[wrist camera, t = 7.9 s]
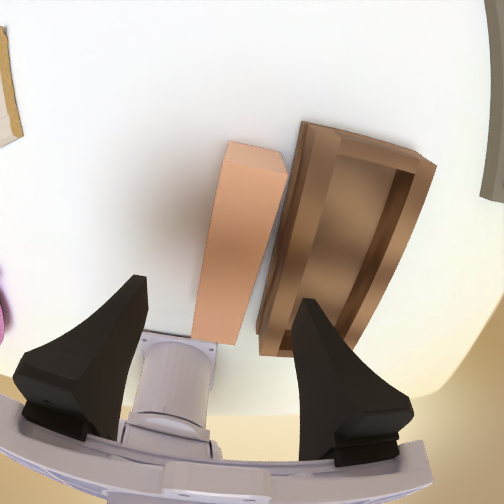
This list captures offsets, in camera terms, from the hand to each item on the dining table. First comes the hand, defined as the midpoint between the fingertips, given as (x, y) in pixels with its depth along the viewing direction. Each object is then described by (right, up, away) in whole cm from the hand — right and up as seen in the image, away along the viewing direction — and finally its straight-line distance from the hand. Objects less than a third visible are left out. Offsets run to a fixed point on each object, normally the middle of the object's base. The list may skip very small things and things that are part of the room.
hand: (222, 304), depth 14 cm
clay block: (0, +4, +10) cm, 10 cm away
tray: (+8, +3, +10) cm, 13 cm away
